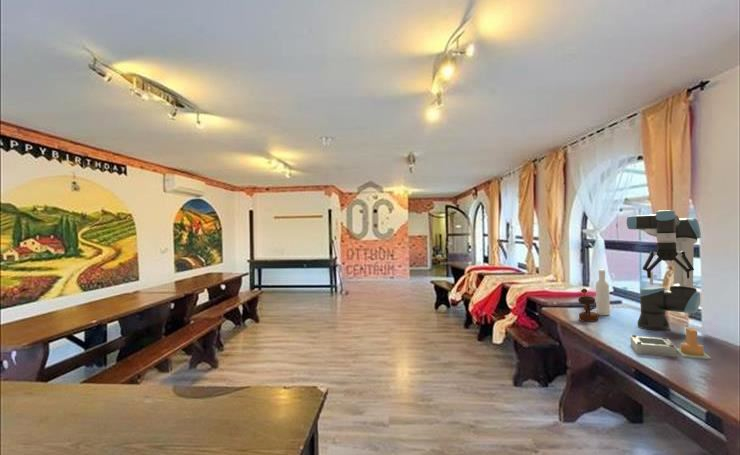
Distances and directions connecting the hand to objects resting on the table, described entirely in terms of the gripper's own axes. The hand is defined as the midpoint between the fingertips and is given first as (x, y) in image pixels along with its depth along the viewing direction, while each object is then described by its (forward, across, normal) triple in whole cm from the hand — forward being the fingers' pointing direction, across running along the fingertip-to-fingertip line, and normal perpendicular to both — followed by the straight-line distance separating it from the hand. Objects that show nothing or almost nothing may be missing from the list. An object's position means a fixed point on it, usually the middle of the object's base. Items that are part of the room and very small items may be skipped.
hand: (668, 284), depth 193 cm
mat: (+29, +5, -14) cm, 33 cm away
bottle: (+31, -20, +67) cm, 77 cm away
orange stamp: (+29, +5, -14) cm, 32 cm away
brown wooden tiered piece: (+31, -31, +46) cm, 64 cm away
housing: (+29, -10, -13) cm, 34 cm away
